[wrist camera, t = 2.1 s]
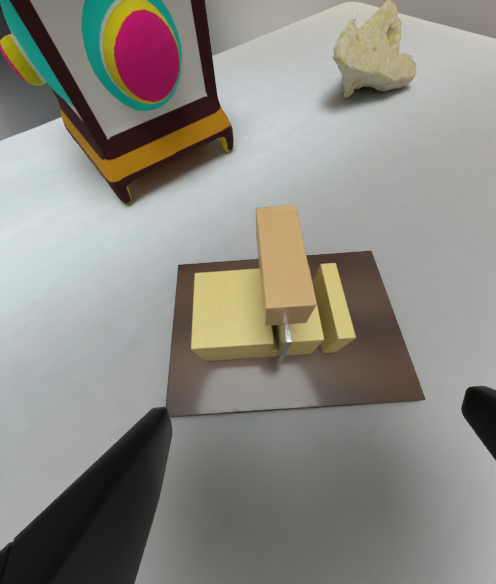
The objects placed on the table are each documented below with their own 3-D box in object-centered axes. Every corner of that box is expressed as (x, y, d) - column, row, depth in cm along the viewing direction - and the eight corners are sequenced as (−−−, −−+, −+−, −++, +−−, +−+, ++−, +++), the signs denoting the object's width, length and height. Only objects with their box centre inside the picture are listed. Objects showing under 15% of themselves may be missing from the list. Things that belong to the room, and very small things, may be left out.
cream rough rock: (382, 81, 45) (334, 6, 38) (426, 50, 38) (378, -47, 31) (356, 150, 43) (301, 85, 36) (398, 130, 37) (340, 46, 30)
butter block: (311, 354, 20) (324, 339, 16) (204, 361, 20) (190, 349, 16) (299, 290, 22) (309, 264, 18) (206, 297, 22) (194, 272, 18)
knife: (293, 363, 17) (321, 327, 10) (264, 365, 17) (268, 330, 10) (280, 272, 21) (293, 191, 13) (256, 273, 21) (254, 194, 13)
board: (418, 400, 19) (426, 400, 18) (168, 417, 19) (164, 417, 18) (367, 256, 25) (371, 250, 24) (180, 269, 25) (178, 264, 24)
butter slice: (336, 352, 20) (356, 337, 16) (322, 353, 20) (338, 339, 16) (321, 288, 22) (335, 262, 18) (309, 289, 22) (320, 263, 18)
